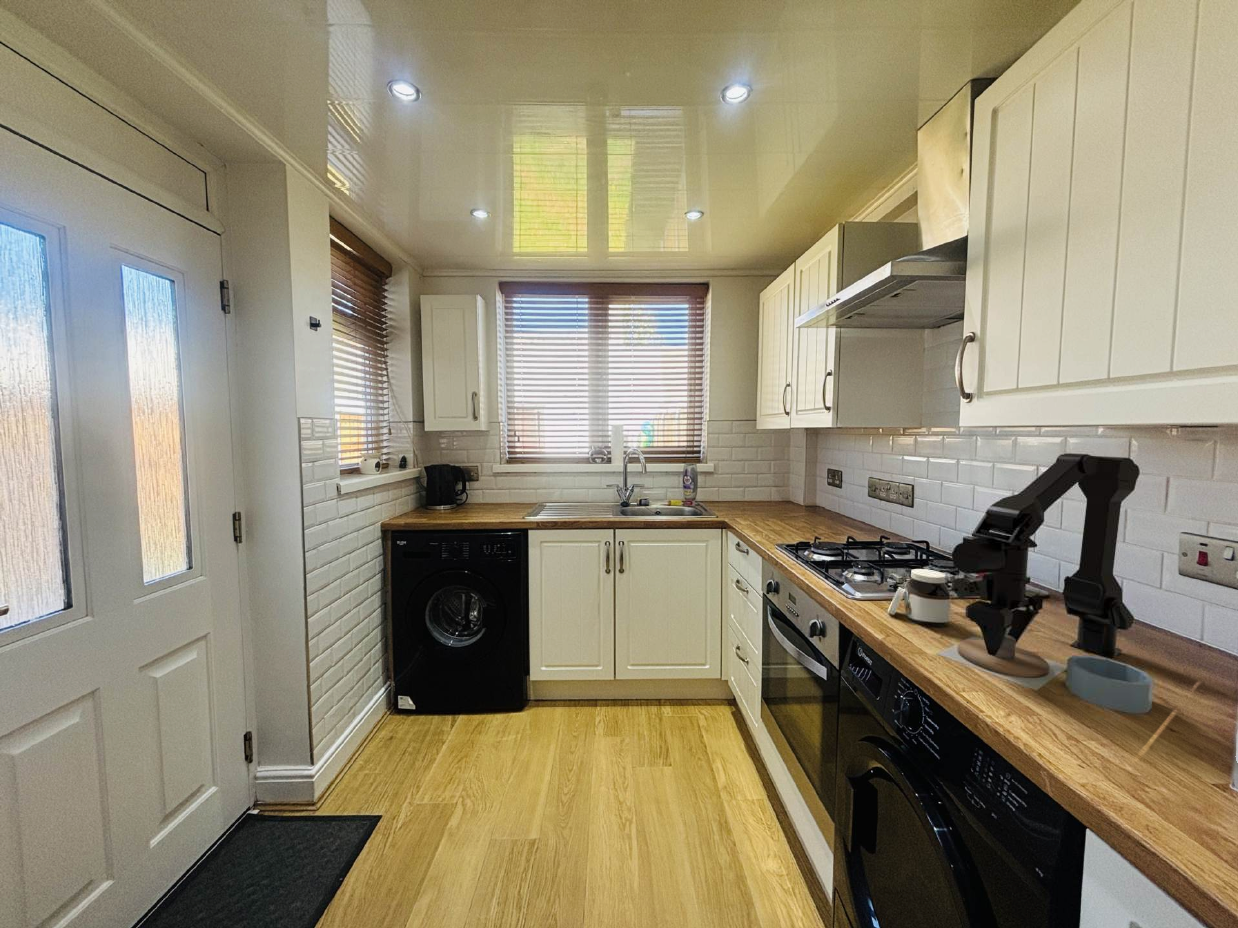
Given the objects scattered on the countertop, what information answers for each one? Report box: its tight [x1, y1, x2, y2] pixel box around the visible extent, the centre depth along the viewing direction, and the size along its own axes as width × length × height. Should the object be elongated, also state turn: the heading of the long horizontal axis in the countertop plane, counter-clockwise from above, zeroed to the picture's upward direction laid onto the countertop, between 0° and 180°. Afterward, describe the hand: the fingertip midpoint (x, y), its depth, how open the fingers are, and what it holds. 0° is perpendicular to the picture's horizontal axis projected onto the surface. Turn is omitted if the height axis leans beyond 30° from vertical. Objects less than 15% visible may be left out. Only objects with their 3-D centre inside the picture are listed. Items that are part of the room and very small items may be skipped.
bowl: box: [1065, 654, 1155, 714], centre depth 83 cm, size 10×10×5 cm
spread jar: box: [887, 568, 952, 628], centre depth 117 cm, size 12×11×12 cm
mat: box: [936, 635, 1067, 691], centre depth 96 cm, size 16×16×1 cm
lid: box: [957, 635, 1049, 678], centre depth 96 cm, size 14×14×4 cm
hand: (1002, 649), depth 96 cm, fingers open, 9 cm apart
